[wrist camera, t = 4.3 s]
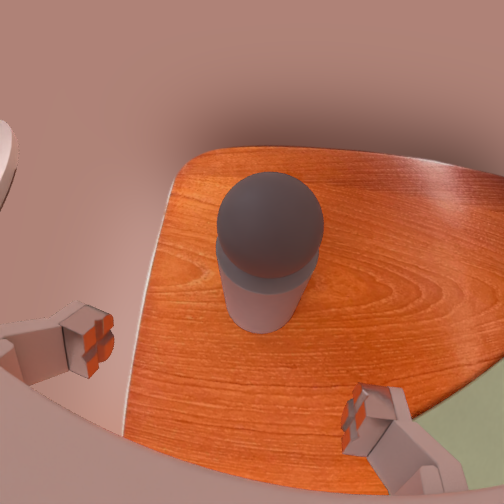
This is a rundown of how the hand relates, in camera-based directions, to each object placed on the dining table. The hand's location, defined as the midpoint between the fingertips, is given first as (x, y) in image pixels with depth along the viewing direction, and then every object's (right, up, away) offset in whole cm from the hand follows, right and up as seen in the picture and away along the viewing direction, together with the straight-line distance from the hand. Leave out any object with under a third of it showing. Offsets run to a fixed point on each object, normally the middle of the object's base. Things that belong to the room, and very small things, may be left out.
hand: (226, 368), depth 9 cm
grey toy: (+1, 0, +13) cm, 13 cm away
